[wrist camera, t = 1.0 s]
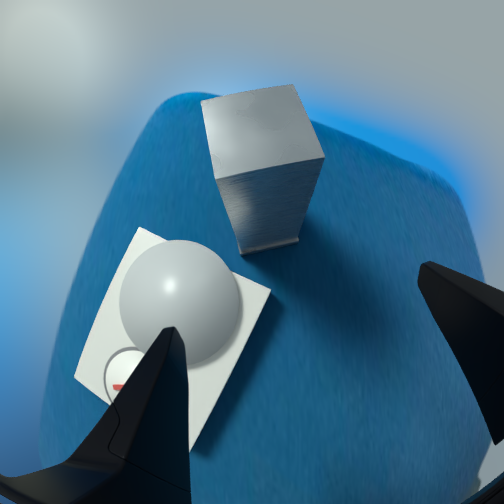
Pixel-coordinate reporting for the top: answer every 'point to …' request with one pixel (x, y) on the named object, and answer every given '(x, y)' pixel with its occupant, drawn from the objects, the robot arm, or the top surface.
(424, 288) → the robot arm
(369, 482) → the top surface
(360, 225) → the top surface
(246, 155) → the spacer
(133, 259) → the scale
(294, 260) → the top surface
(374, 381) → the top surface
